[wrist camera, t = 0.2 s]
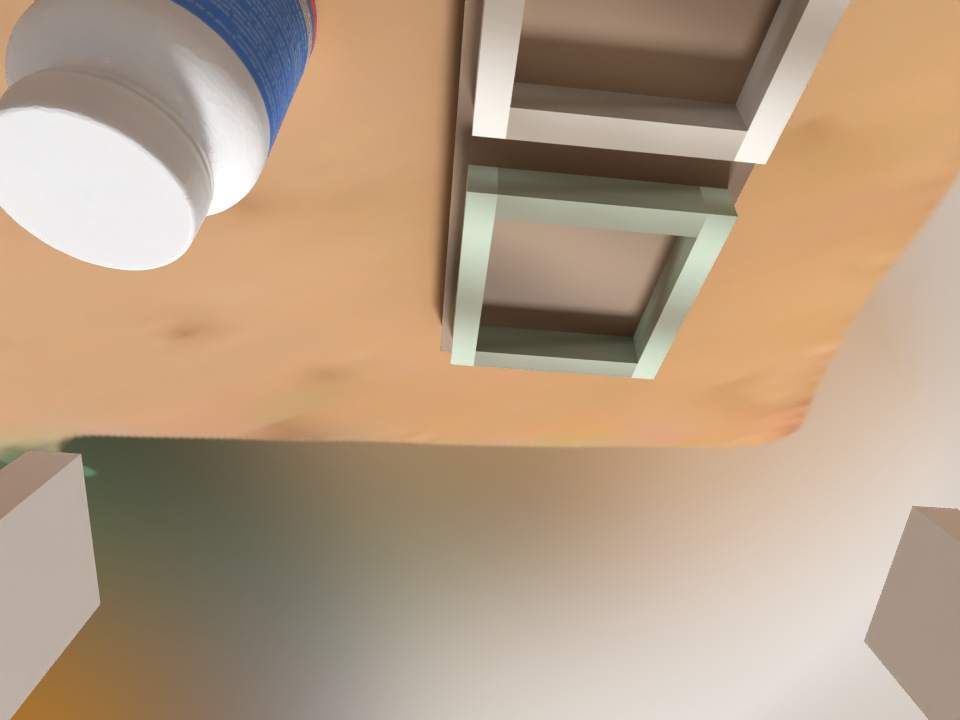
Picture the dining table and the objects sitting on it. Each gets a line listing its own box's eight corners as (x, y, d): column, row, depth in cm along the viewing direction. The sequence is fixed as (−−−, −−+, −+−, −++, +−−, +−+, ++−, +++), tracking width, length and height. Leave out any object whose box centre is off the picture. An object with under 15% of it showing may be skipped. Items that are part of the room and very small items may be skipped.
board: (493, -397, 13) (492, -393, 11) (963, -327, 13) (1041, -312, 11) (442, 327, 30) (438, 377, 28) (647, 343, 30) (657, 393, 28)
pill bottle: (186, -176, 15) (-21, -19, 9) (358, -1, 18) (287, 204, 12) (95, -14, 18) (-107, 187, 12) (257, 114, 21) (159, 326, 15)
